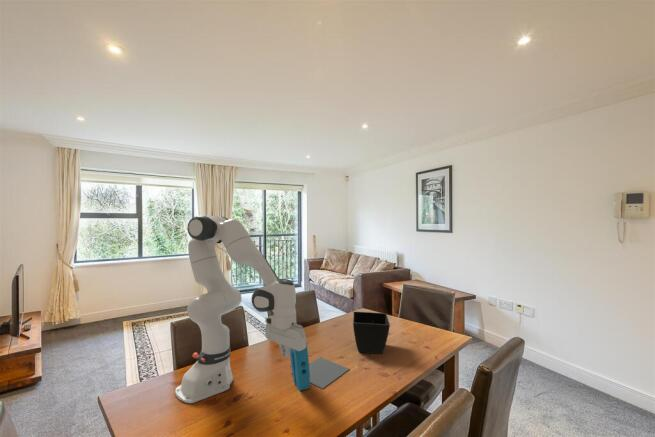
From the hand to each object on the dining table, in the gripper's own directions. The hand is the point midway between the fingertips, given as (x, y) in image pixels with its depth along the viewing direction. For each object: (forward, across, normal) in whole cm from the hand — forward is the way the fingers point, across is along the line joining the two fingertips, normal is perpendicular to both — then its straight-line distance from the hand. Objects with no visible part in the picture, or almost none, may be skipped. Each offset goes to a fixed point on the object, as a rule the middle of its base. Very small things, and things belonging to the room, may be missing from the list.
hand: (285, 355), depth 113 cm
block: (+16, +1, -10) cm, 19 cm away
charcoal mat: (+16, +1, -23) cm, 28 cm away
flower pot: (+17, -4, -59) cm, 61 cm away
